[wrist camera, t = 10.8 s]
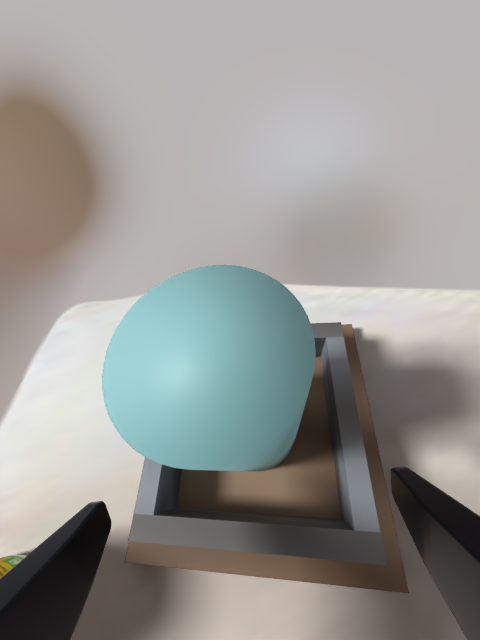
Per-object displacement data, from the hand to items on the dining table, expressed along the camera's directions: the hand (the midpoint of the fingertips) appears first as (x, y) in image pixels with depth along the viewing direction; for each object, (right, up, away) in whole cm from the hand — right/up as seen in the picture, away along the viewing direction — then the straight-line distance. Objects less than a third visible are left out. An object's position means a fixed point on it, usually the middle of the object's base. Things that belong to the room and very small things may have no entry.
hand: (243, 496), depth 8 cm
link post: (+1, -1, +8) cm, 8 cm away
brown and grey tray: (+1, -2, +9) cm, 9 cm away
